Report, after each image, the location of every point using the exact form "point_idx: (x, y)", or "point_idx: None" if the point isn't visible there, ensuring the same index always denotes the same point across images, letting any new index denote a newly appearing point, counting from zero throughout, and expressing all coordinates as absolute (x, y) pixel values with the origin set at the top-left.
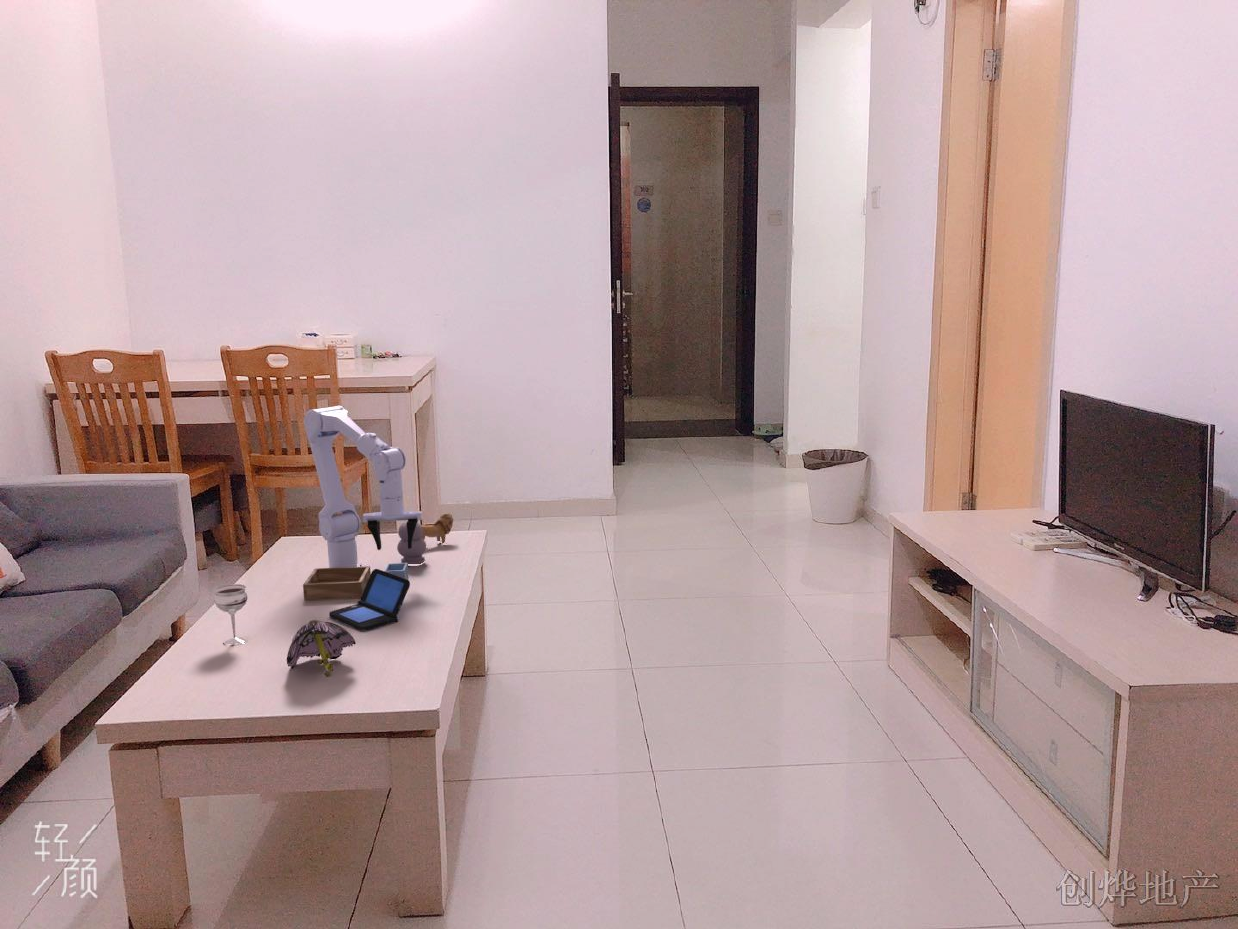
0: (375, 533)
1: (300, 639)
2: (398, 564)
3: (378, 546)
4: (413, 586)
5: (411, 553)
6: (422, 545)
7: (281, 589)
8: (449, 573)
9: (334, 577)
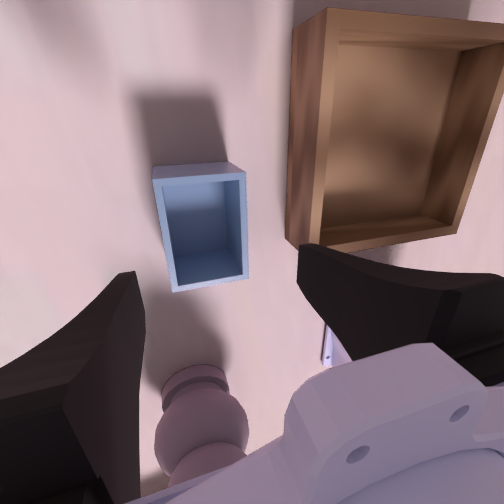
0: (390, 273)
1: None
2: (207, 279)
3: (317, 246)
4: (119, 171)
5: (193, 397)
6: (160, 442)
7: (489, 174)
8: (26, 324)
9: (390, 222)
